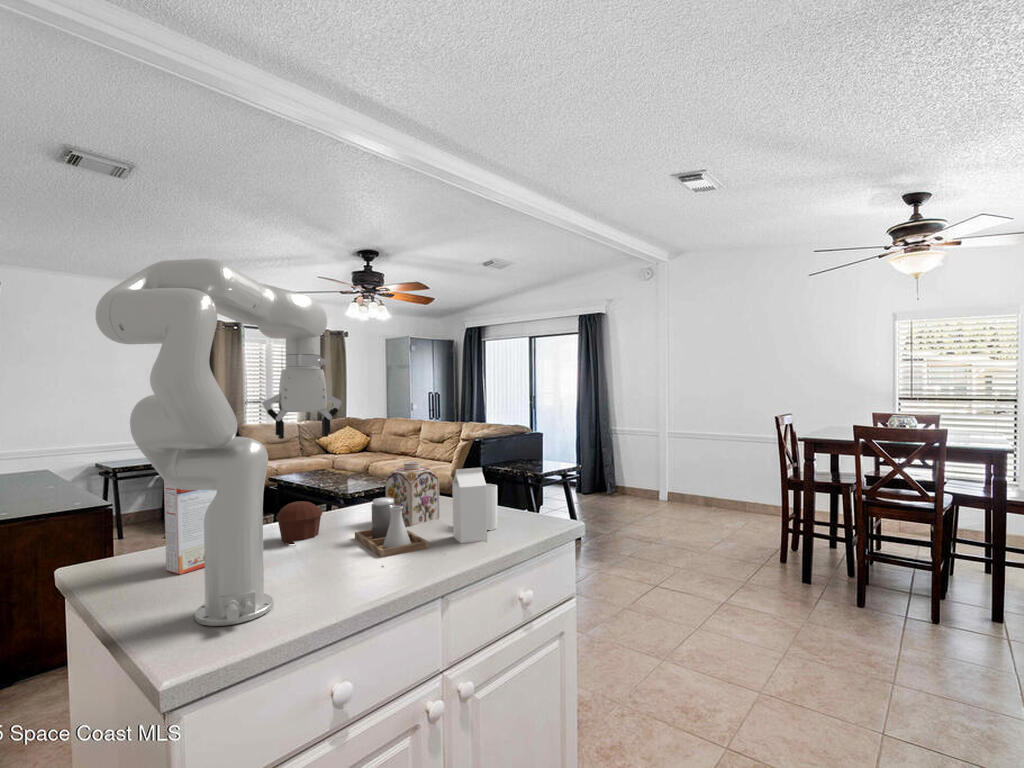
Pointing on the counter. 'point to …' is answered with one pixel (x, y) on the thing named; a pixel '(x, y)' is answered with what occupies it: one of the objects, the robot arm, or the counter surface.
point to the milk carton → (469, 505)
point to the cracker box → (185, 527)
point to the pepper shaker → (381, 516)
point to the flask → (396, 530)
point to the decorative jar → (415, 493)
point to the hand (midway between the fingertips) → (303, 437)
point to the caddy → (377, 545)
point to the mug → (491, 506)
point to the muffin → (298, 521)
